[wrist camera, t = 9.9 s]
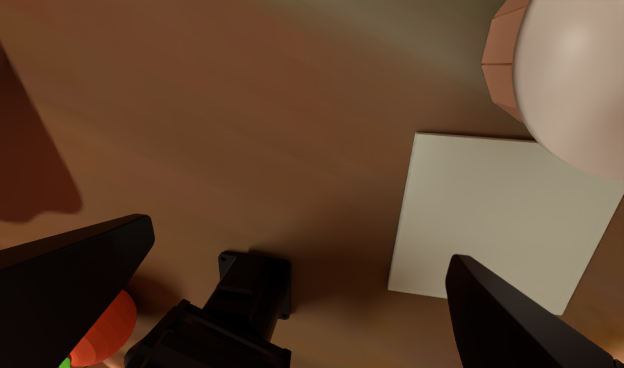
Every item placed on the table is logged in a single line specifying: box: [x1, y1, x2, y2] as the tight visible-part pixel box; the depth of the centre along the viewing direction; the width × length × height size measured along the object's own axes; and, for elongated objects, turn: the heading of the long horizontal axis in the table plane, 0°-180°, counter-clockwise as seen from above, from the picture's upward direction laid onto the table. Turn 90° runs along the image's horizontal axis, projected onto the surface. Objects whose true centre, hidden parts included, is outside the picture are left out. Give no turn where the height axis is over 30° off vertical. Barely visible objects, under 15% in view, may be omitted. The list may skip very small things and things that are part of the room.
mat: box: [388, 132, 624, 315], centre depth 21 cm, size 13×13×1 cm
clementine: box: [59, 289, 137, 368], centre depth 27 cm, size 8×7×7 cm
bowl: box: [481, 0, 530, 124], centre depth 13 cm, size 9×9×6 cm
